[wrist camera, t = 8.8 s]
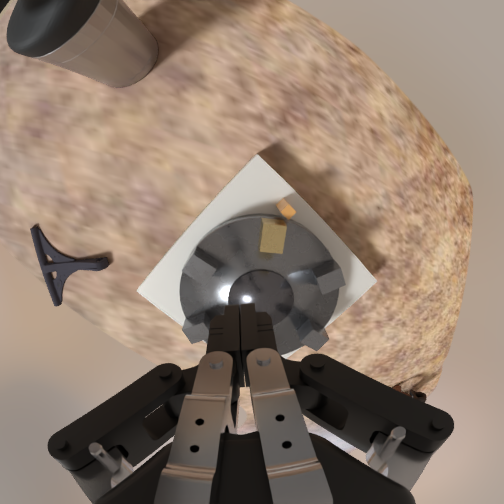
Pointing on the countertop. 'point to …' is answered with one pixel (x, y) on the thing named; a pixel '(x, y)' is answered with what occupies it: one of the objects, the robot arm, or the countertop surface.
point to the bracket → (60, 265)
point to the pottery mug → (413, 394)
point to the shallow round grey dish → (262, 279)
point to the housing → (243, 203)
